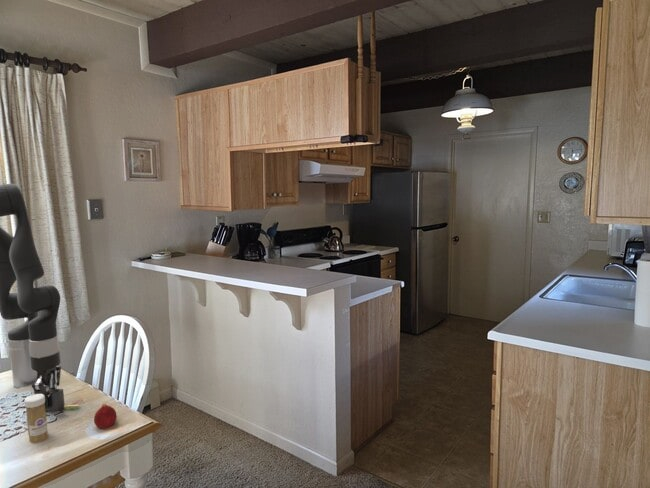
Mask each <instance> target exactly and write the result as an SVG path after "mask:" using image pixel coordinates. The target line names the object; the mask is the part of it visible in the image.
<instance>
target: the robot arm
mask: <svg viewBox="0 0 650 488" xmlns="http://www.w3.org/2000/svg"><path fill="white" fill-rule="evenodd" d="M12 215H14V216H15V221H16V229H15V231H14V236H13V235H11V234H10V233H8V232H7V231H6V230H5V229H4V228H3V227H2V226H1V225H0V316H1V318H2V319H3V320H5V321H10V320H18V319H19V320H21V319H25V318H26V321H24V322H22V323H21V324H19V325H17V326H15V327H13V328H12V327H11V328H10V330H9V331H7V339H8V341H7V342H8V348H9V355H10V356H9V357H10V365H11V373H12V382H13V383H12V384H13V387H14V388H17V389H20V388H24V387H28V386H31V388H32V389H33V393H34V392H35V394H43V395H44V396H45V409H46V408H51V407H52V401H51V389H58V387H59V386H60V381H61V375H62V373H61V372H62V366H61V353H60V341H59V339H58V331H57V319H58V314H59V310H60V303H61V295H60V292H59V290H58V288H57V287H56V286H54V285H52V284H48V285H47V284H46V285H41V286H37V287H34V283H35V281H36V280H39V279H41V278H43V276H44V275H45V271H44V268H43V266H42V262H41V259H40V256H39V255H38V254H39V253H38V251H37V248H36V246H35V245H36V244H35V241H34V236H33V232H32V227H31V226H32V225H31V222H30V219H29V214H28V209H27V205H26V202H25V197H24V196H23V193H22V190H21V189H20V187H19V186H18V185H17V184H15V183H6V184H0V217H1V218H2V217H6V216H12ZM15 283H16V288H17V290H16V292H11V289H12V287H13V285H14V284H15ZM59 365H60V366H59ZM46 390H47V391H46Z"/></svg>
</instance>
